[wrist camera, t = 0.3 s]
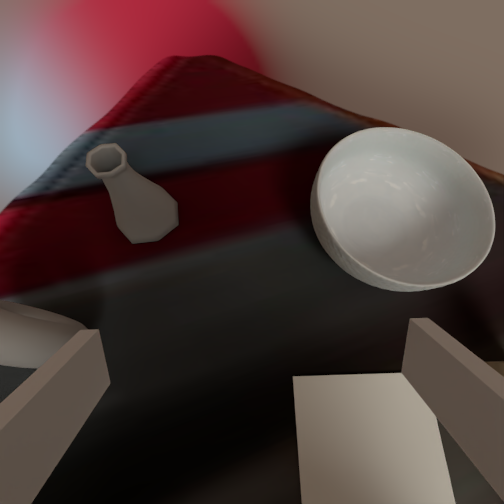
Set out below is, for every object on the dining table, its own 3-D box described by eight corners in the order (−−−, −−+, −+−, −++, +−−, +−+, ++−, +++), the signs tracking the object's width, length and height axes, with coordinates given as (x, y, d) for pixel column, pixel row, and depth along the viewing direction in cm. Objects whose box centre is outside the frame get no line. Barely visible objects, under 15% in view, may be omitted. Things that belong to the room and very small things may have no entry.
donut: (9, 335, 26) (-129, 331, 16) (29, 301, 27) (-89, 279, 17) (101, 368, 25) (13, 384, 15) (118, 332, 26) (45, 326, 17)
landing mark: (463, 546, 21) (465, 548, 21) (305, 555, 21) (305, 557, 21) (424, 371, 25) (425, 372, 25) (292, 376, 25) (292, 376, 25)
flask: (167, 180, 32) (135, 112, 23) (189, 229, 30) (163, 176, 20) (109, 202, 31) (49, 140, 21) (128, 254, 29) (70, 212, 19)
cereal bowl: (456, 304, 28) (523, 292, 21) (301, 297, 28) (320, 282, 21) (428, 171, 33) (473, 128, 27) (299, 164, 33) (312, 119, 27)
